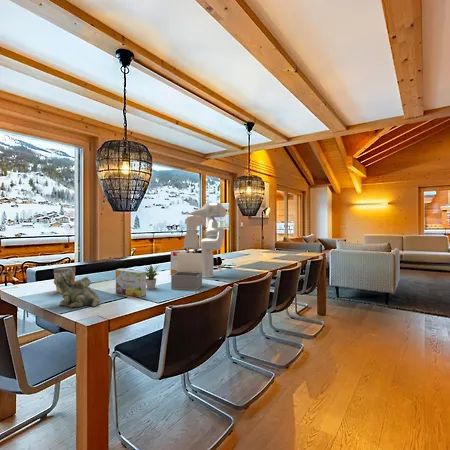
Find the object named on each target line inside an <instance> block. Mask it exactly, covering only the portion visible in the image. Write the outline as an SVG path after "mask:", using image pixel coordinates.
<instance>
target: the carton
mask: <svg viewBox="0 0 450 450" xmlns="http://www.w3.org/2000/svg"><path fill="white" fill-rule="evenodd" d="M170 275H171V274H170ZM170 278H171V279H170V280H171V281H170V282H171V283H170V289H171V290H191V291H198V290H199V289H200V288H201V287H202V286H203V277H202V273H198V272H177V273H175V274H173V275H171V276H170Z"/></svg>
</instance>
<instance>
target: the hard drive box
mask: <svg viewBox="0 0 450 450" xmlns="http://www.w3.org/2000/svg"><path fill="white" fill-rule="evenodd" d="M189 252H191V250H189ZM177 253H187V252H186V251H185V250H170V275H173V274H175V273H177V272H178V269H177Z"/></svg>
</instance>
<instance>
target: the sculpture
mask: <svg viewBox="0 0 450 450" xmlns="http://www.w3.org/2000/svg"><path fill="white" fill-rule="evenodd" d="M53 275H55V276H56V280H54V279H53V284H54V285H55V284H56V285H57V286H58V287H59V288H60V289H61V292H62V293H61V295H62V300H61V301H60V302H59V304H58V305H59V306H60V305H64V306H63V307H70V308H72V309H73V307H74V308H78V307H80V308H81V307H83V306H91V307H92V308H93V307H94V308H95V307H97V306H98V305H100V302H101V299H100V297H99V295H98V293H96V291H94V290H93V289H92V288H91V286H90V285H91V284H92V281H91V279H90V278H89V277H88V276H85V277H82V278H81V279H78V280H77V279H76V280H75V281H74V284H73V283H72V279H73V278H74V272H73V271H72V269H71V268H70V269H69V270H68V271H67V272H65V271H64V272H61V274H60V273H58V274H57V273H55V274H54V273H53ZM56 285H55V286H56ZM68 305H70V306H68Z"/></svg>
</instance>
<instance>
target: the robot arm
mask: <svg viewBox="0 0 450 450" xmlns="http://www.w3.org/2000/svg"><path fill="white" fill-rule="evenodd" d="M226 215H227V211H226V208H225V207H224V206H223V204H221V203H220V202H212V201H211V202H206V203H205V204H204V205H203V206H202V207H201V208H199V209H196V210H194V211H191V212H189V213H188V214H187V215H186V216H185V219H184V220H185V221H184V222H185V225H186V229H185V231H186V233H185V234H184V235H185V236H184V239H183V240H184V241H183V245H182V247H181V249H183V251H186V252H187V253H189V251H190V249H192V250H193V251H192V252H193V253H197V252H198V251H199V250H200V249H201V253H202V279H207V278H208V279H209V278H215V277H216V274H214V254H213V252H212V251H219V250H221V248H222V247H223V243H224V238H225V229H224V228H223V227H221V226H220V227H219V223H218V221H217V219H216V218H224V217H226ZM205 219H207V223H208V224H207V227H206V230H205V237H204V238H202V239H201V240H200V239H199V235H198V233H199V232H200V231H199V230H198V227H199V226H203V225H204V223H205ZM199 240H200V243H199Z"/></svg>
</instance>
